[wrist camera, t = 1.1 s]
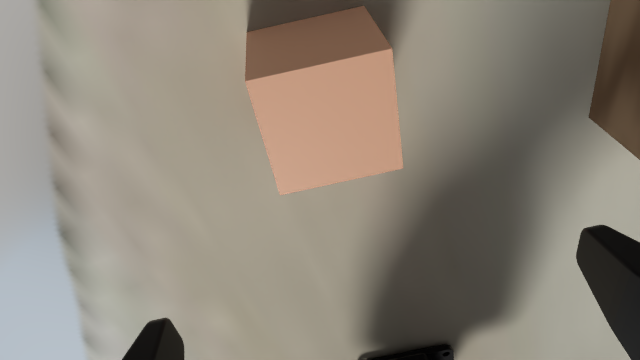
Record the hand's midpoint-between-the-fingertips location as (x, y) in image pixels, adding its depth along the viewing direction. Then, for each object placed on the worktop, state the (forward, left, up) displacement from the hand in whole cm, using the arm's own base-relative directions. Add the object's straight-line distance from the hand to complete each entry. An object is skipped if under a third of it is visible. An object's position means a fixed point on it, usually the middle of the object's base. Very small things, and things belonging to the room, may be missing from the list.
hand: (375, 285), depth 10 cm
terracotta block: (0, 0, -11) cm, 11 cm away
